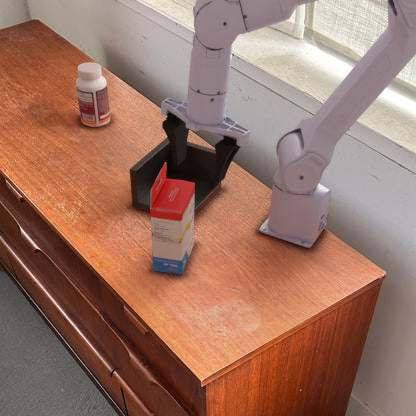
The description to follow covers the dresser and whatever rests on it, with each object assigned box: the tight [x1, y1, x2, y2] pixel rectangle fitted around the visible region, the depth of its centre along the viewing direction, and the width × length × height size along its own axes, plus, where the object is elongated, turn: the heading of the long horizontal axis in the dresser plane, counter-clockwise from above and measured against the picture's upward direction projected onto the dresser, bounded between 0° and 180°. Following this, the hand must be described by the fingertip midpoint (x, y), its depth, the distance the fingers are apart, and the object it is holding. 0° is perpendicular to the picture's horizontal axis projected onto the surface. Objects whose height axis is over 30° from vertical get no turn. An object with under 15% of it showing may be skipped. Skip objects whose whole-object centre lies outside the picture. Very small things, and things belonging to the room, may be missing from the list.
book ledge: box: [129, 136, 222, 218], centre depth 110 cm, size 11×13×8 cm
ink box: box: [149, 162, 195, 276], centre depth 96 cm, size 8×5×15 cm, turn 168°
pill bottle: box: [75, 61, 111, 128], centre depth 127 cm, size 6×6×11 cm
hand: (199, 171), depth 100 cm, fingers open, 7 cm apart
